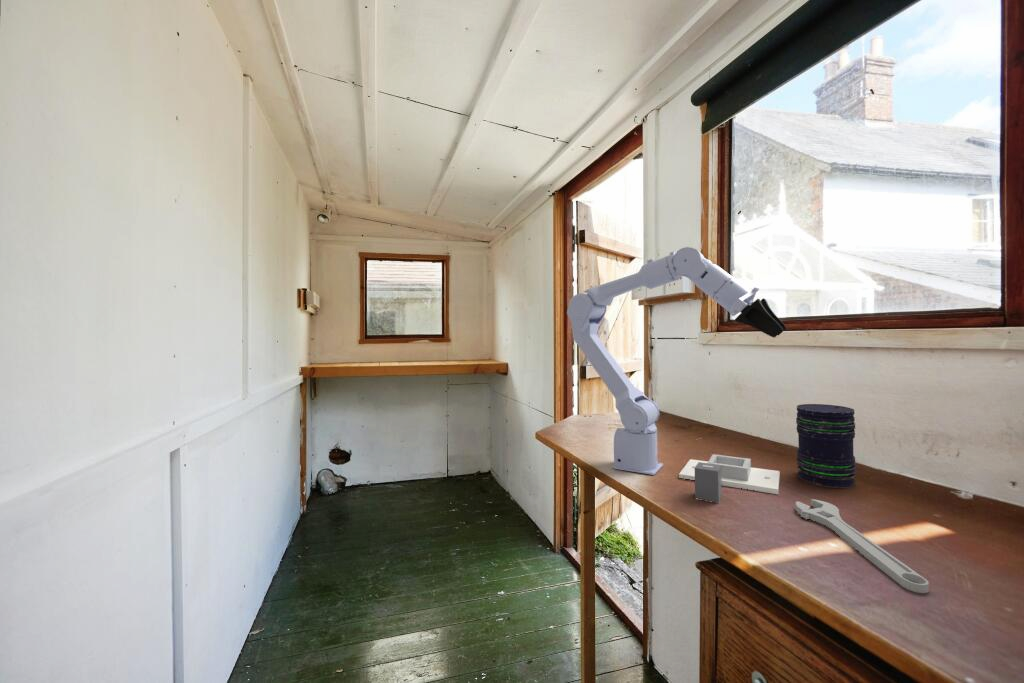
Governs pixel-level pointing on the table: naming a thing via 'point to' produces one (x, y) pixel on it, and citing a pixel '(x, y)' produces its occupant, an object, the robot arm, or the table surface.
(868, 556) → the adjustable wrench
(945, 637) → the table surface
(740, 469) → the outlet plate
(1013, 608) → the table surface
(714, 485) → the block
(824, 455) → the dark blue barrel
